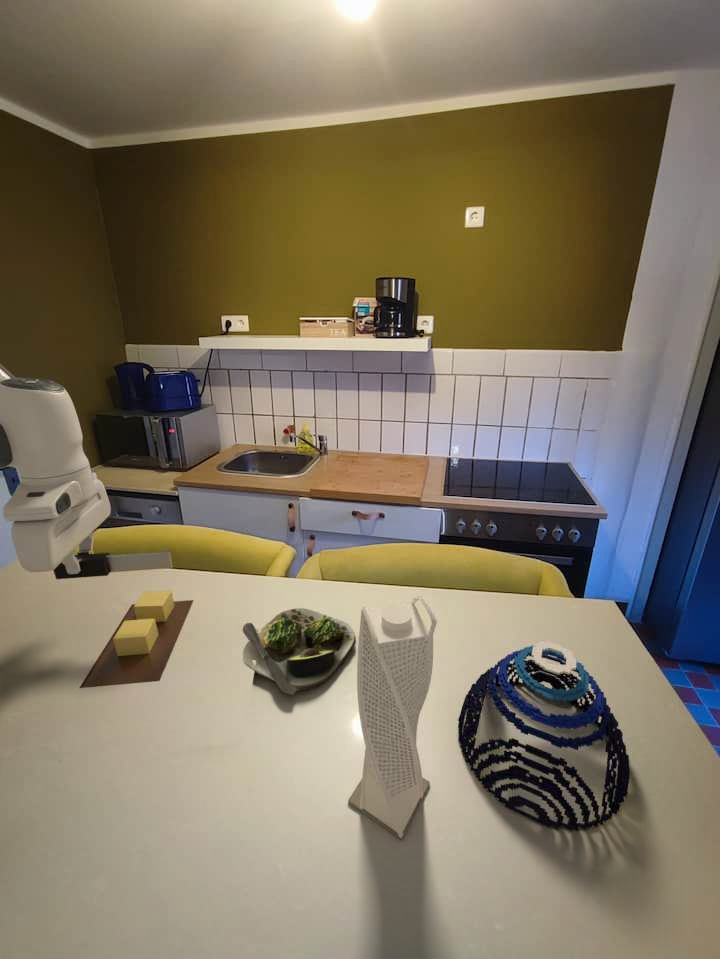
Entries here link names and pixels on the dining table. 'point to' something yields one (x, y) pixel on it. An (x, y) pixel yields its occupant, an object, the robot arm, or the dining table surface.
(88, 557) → the knife
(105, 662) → the cutting board
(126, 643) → the butter block
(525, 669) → the decorative bowl
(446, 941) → the dining table surface
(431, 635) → the skyscraper
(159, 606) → the butter slice
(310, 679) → the salad plate
